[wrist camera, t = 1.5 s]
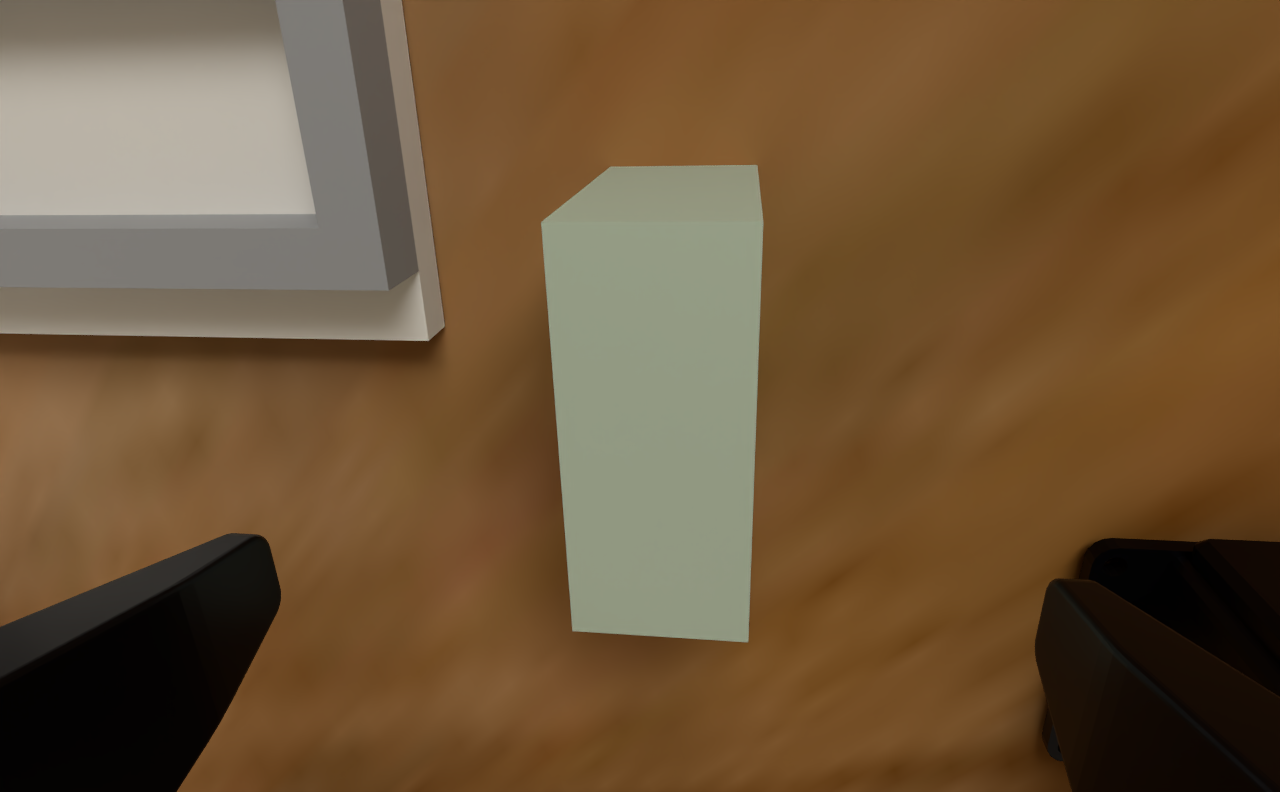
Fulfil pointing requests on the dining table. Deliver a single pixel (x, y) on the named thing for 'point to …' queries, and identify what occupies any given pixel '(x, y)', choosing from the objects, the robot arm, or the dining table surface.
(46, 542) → the dining table surface
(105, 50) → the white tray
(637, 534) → the pale green block
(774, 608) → the dining table surface
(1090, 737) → the robot arm
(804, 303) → the dining table surface
